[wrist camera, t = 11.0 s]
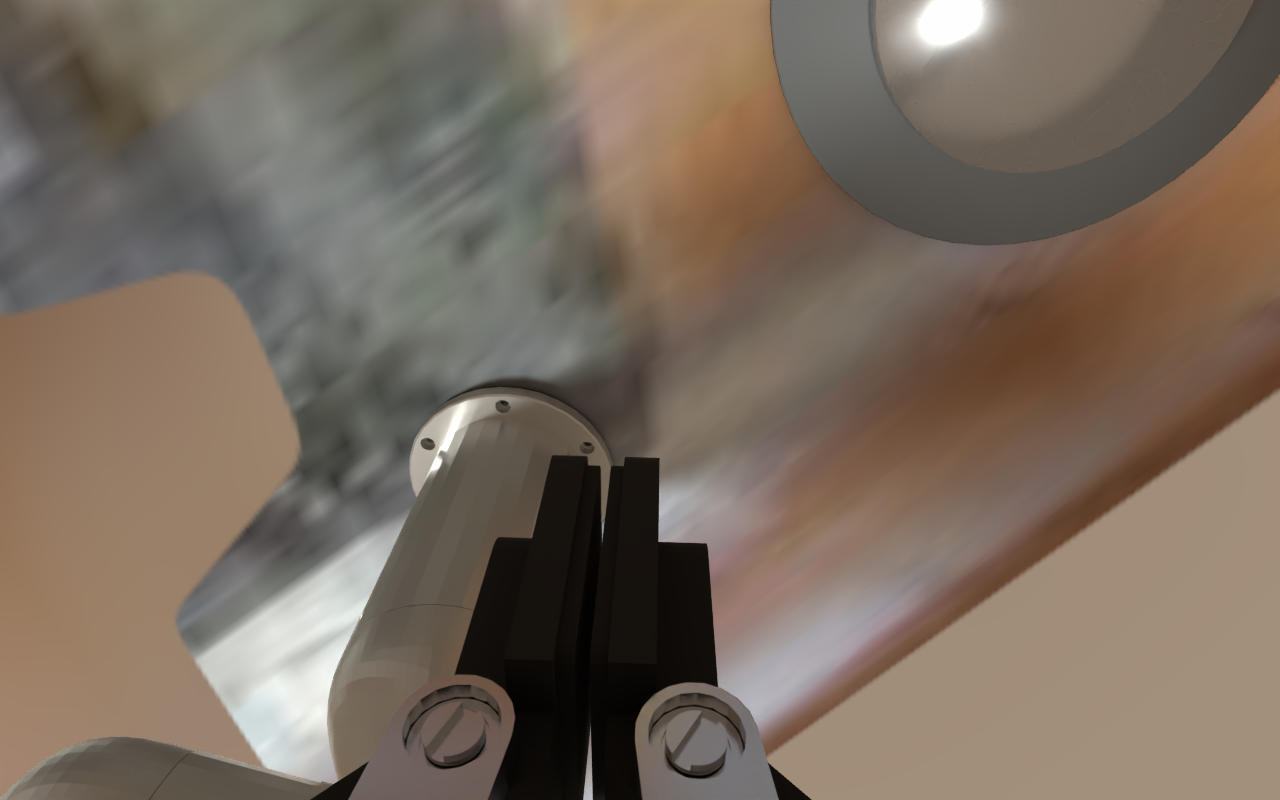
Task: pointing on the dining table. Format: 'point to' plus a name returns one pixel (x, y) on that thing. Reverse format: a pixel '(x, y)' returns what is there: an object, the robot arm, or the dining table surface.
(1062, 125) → the dial
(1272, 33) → the dial plate
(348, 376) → the dining table surface
